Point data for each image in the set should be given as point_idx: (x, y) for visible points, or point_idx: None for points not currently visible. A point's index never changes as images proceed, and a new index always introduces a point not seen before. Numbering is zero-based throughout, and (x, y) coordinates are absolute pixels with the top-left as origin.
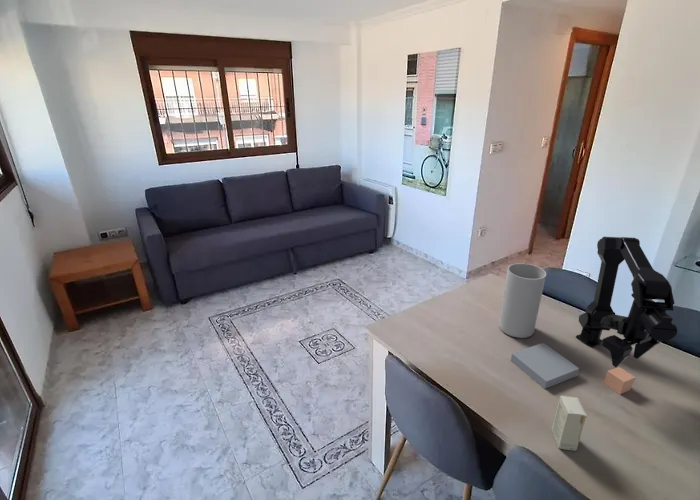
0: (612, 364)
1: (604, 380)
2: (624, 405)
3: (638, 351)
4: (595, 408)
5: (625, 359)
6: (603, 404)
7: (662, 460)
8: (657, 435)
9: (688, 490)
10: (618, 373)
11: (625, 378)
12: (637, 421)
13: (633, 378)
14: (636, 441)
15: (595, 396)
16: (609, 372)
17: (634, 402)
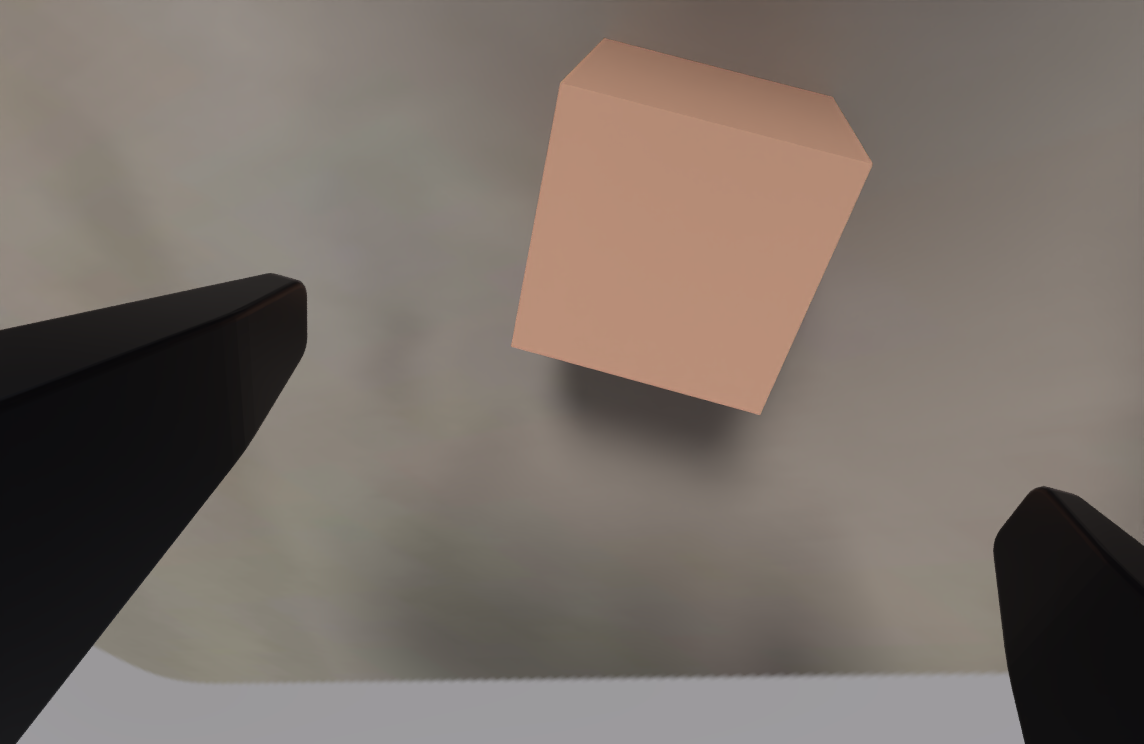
0: (256, 276)
1: (595, 47)
2: (442, 330)
3: (1112, 723)
4: (141, 164)
5: (28, 723)
6: (265, 194)
7: (200, 588)
8: (359, 549)
9: (159, 669)
10: (652, 231)
11: (608, 338)
12: (358, 444)
13: (725, 397)
14: None
15: (288, 83)
16: (553, 120)
17: (568, 377)
